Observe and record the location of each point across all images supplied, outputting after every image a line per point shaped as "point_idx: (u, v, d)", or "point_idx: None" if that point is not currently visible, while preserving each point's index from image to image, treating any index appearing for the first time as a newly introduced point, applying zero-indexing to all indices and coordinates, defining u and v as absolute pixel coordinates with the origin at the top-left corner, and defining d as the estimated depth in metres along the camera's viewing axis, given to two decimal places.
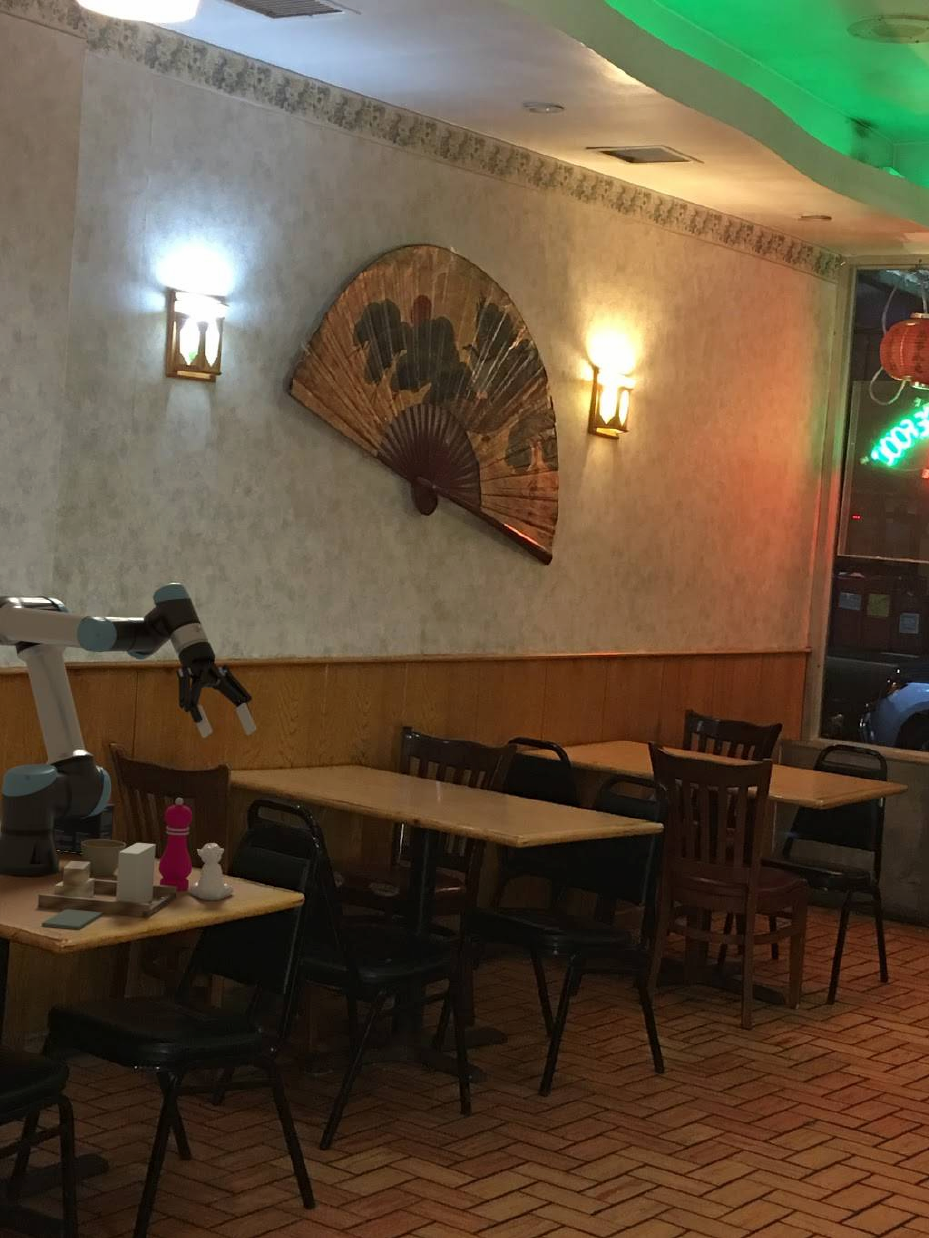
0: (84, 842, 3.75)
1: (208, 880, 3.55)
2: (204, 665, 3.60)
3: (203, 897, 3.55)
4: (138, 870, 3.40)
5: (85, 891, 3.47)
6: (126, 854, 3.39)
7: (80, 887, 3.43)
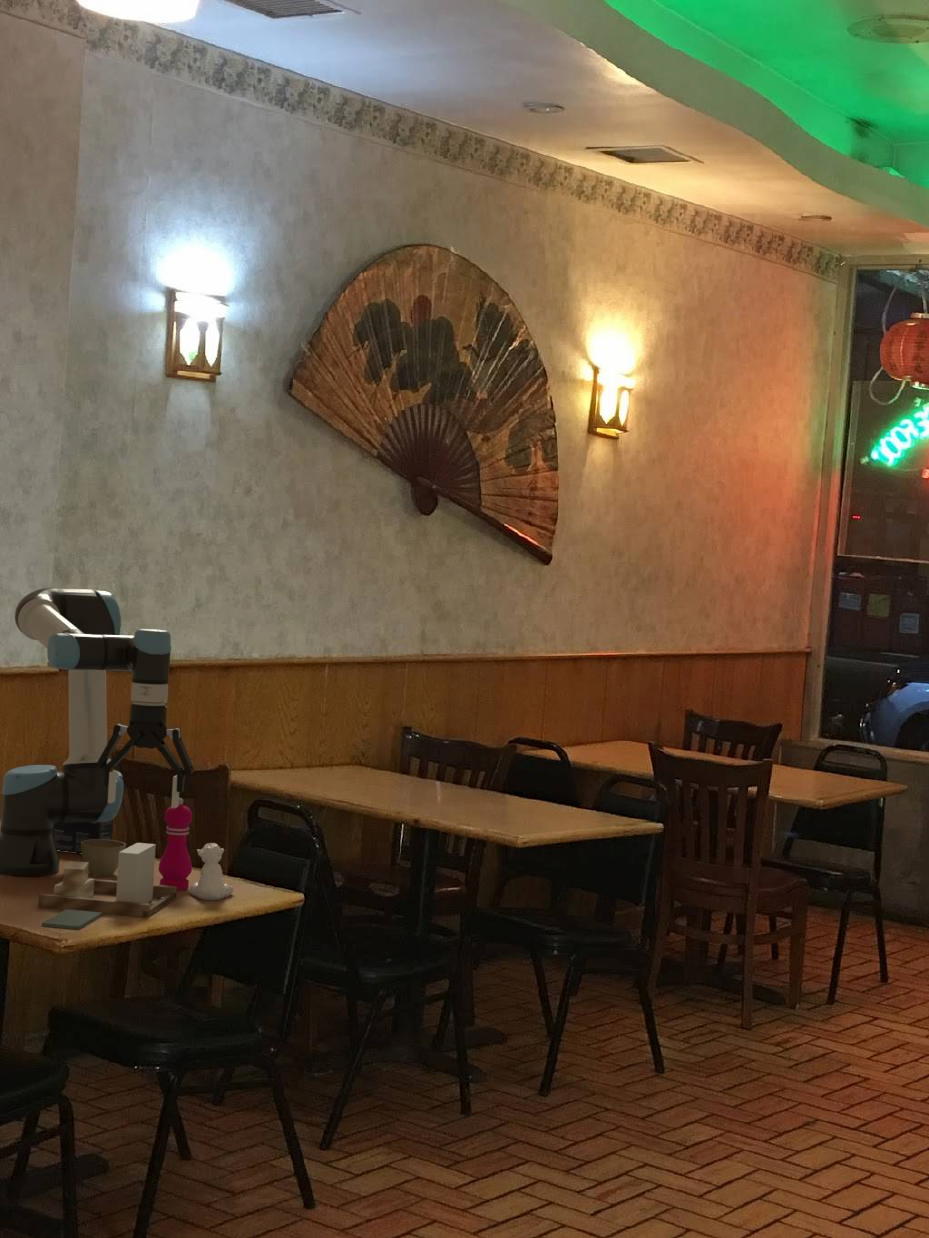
0: (84, 842, 3.75)
1: (208, 880, 3.55)
2: (145, 727, 3.44)
3: (203, 897, 3.55)
4: (138, 870, 3.40)
5: (85, 891, 3.46)
6: (126, 854, 3.39)
7: (80, 887, 3.43)
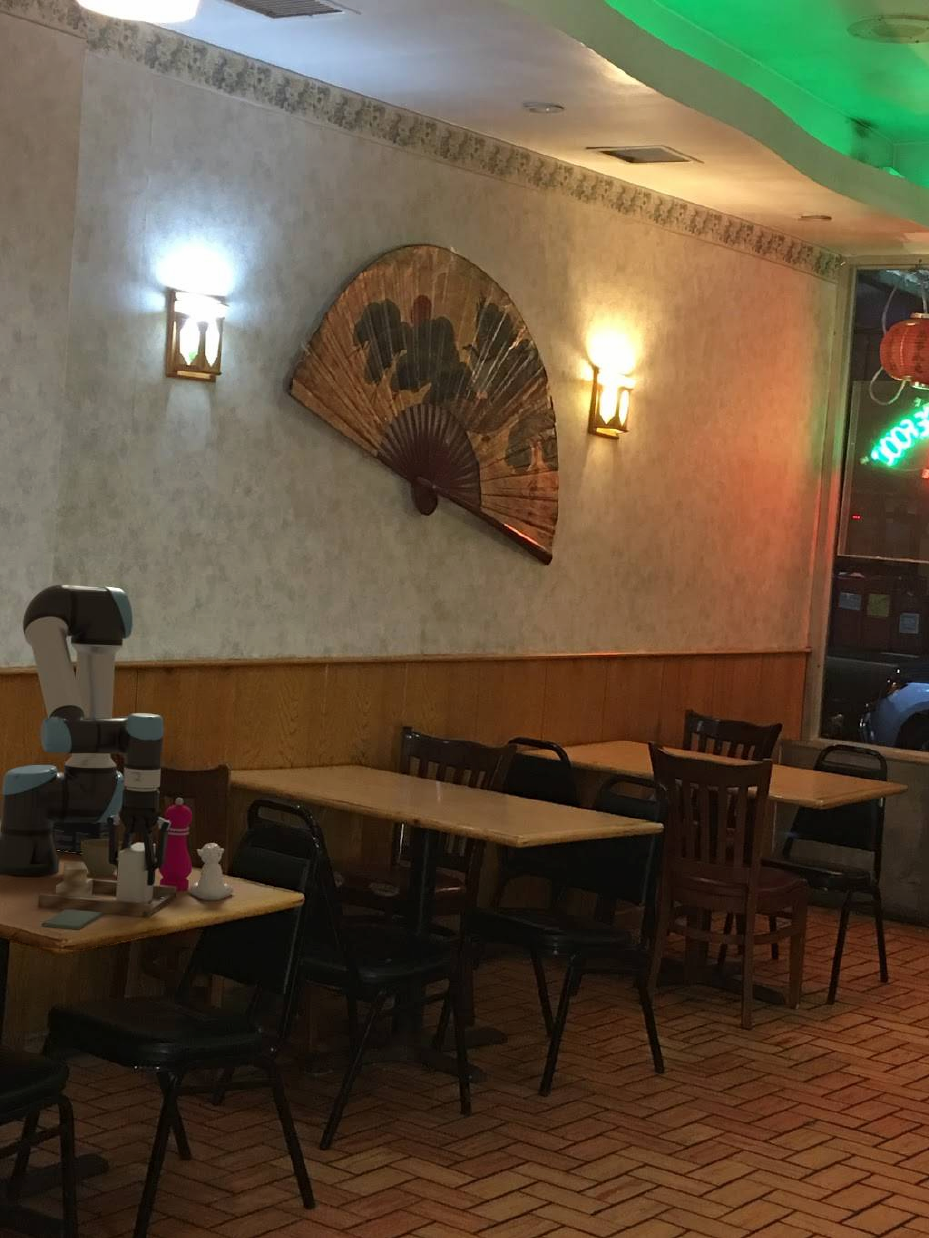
0: (84, 842, 3.75)
1: (208, 880, 3.55)
2: (137, 812, 3.44)
3: (203, 897, 3.55)
4: (138, 869, 3.40)
5: (85, 891, 3.47)
6: (126, 854, 3.39)
7: (81, 887, 3.43)
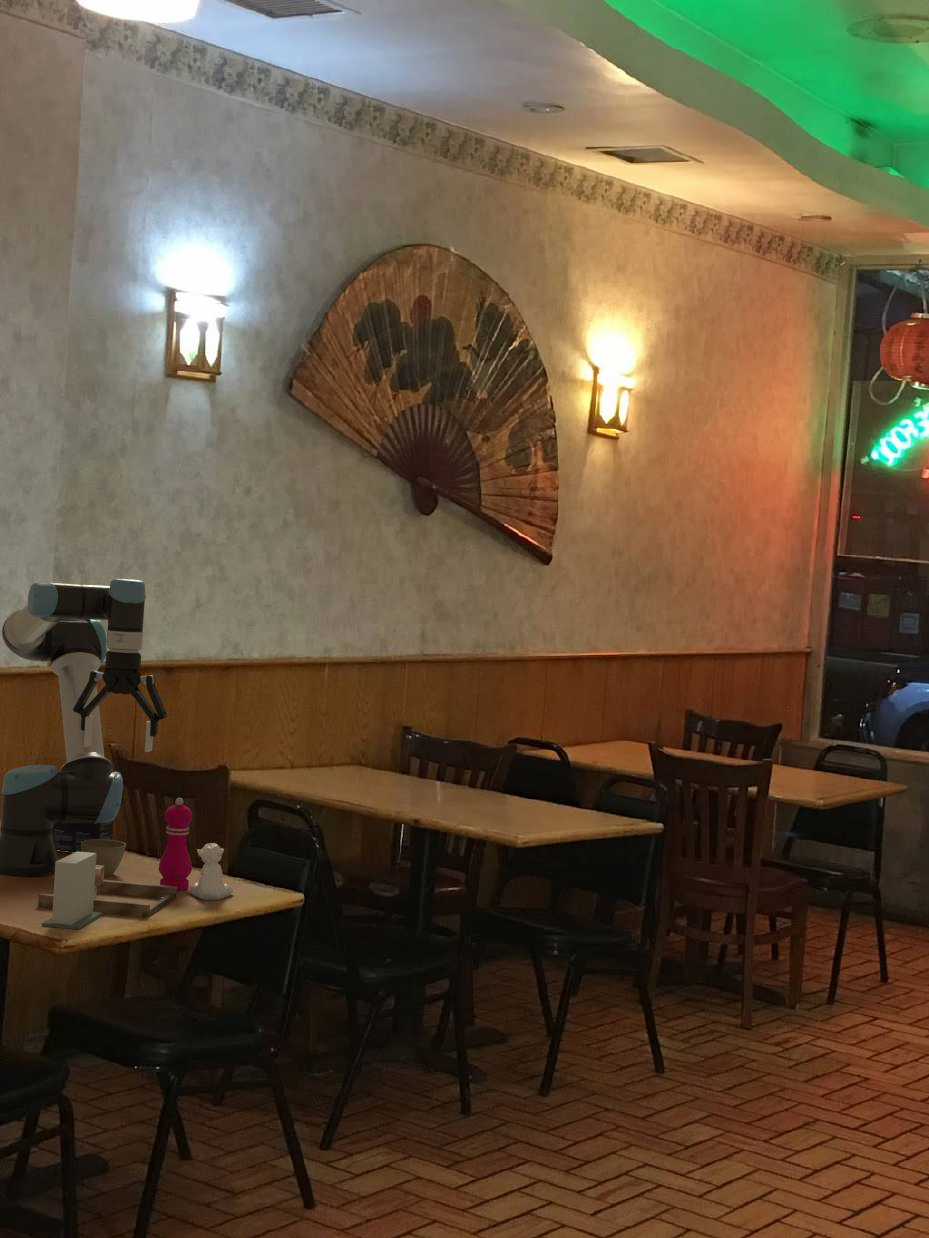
0: (84, 842, 3.75)
1: (208, 880, 3.55)
2: (120, 673, 3.56)
3: (203, 897, 3.55)
4: (76, 880, 3.23)
5: None
6: (63, 864, 3.22)
7: (95, 887, 3.45)
